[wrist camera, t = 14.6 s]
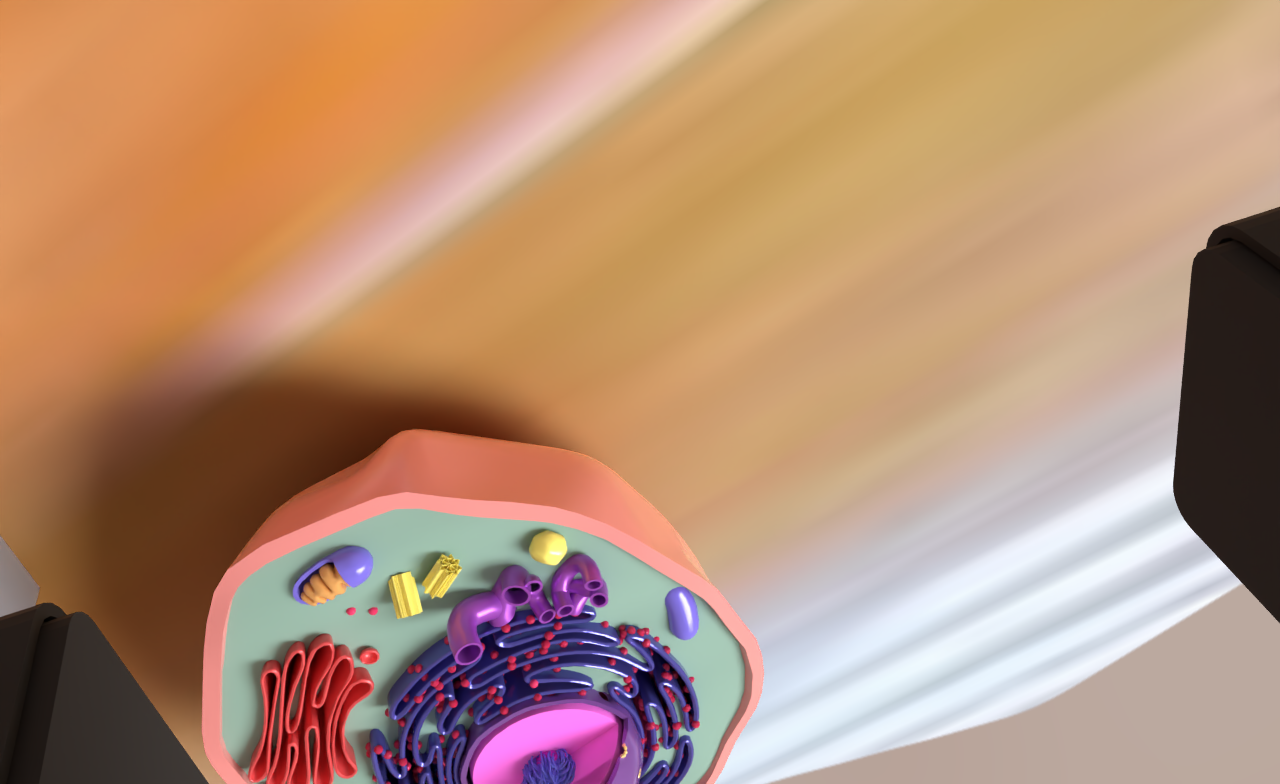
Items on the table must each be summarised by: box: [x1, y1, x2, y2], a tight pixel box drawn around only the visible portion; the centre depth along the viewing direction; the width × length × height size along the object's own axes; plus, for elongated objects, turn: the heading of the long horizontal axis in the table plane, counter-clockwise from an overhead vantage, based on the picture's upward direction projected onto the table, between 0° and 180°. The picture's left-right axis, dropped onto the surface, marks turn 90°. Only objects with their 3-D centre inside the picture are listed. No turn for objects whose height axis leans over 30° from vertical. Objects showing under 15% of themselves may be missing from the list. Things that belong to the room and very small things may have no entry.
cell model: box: [202, 429, 764, 784], centre depth 41 cm, size 17×20×11 cm
